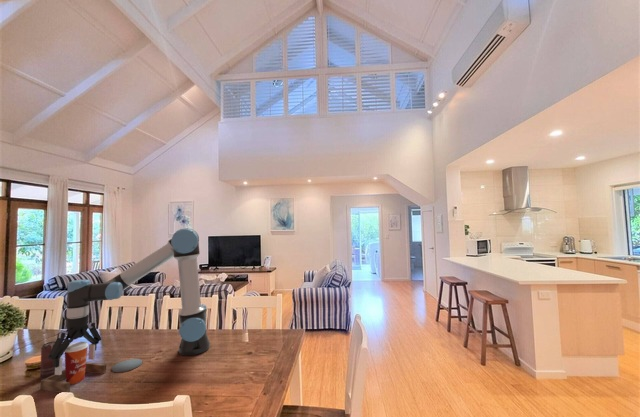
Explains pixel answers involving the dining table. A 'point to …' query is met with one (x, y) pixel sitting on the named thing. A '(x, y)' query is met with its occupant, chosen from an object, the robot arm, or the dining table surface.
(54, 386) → the u-shaped wooden bracket
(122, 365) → the coaster
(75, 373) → the coffee cup
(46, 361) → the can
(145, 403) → the dining table surface
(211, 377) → the dining table surface
